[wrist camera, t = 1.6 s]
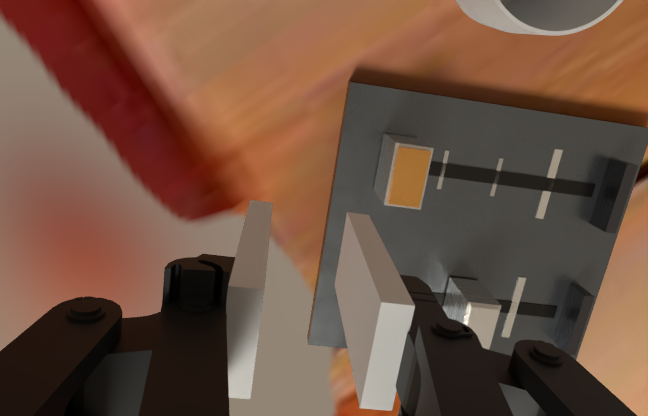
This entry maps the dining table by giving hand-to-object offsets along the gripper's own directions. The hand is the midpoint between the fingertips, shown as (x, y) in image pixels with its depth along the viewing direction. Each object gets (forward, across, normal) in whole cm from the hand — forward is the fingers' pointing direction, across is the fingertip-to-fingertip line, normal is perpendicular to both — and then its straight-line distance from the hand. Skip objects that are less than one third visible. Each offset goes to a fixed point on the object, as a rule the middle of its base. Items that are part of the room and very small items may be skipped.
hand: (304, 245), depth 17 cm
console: (+20, +14, -5) cm, 25 cm away
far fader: (+18, +14, -10) cm, 25 cm away
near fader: (+18, +7, 0) cm, 19 cm away
